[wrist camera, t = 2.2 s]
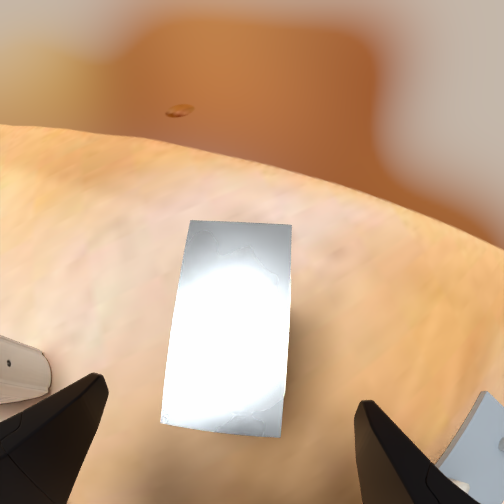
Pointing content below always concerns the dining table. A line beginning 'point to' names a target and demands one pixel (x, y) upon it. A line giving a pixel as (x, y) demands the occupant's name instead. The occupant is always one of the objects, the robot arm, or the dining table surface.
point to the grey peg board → (478, 452)
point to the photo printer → (22, 371)
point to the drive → (230, 330)
